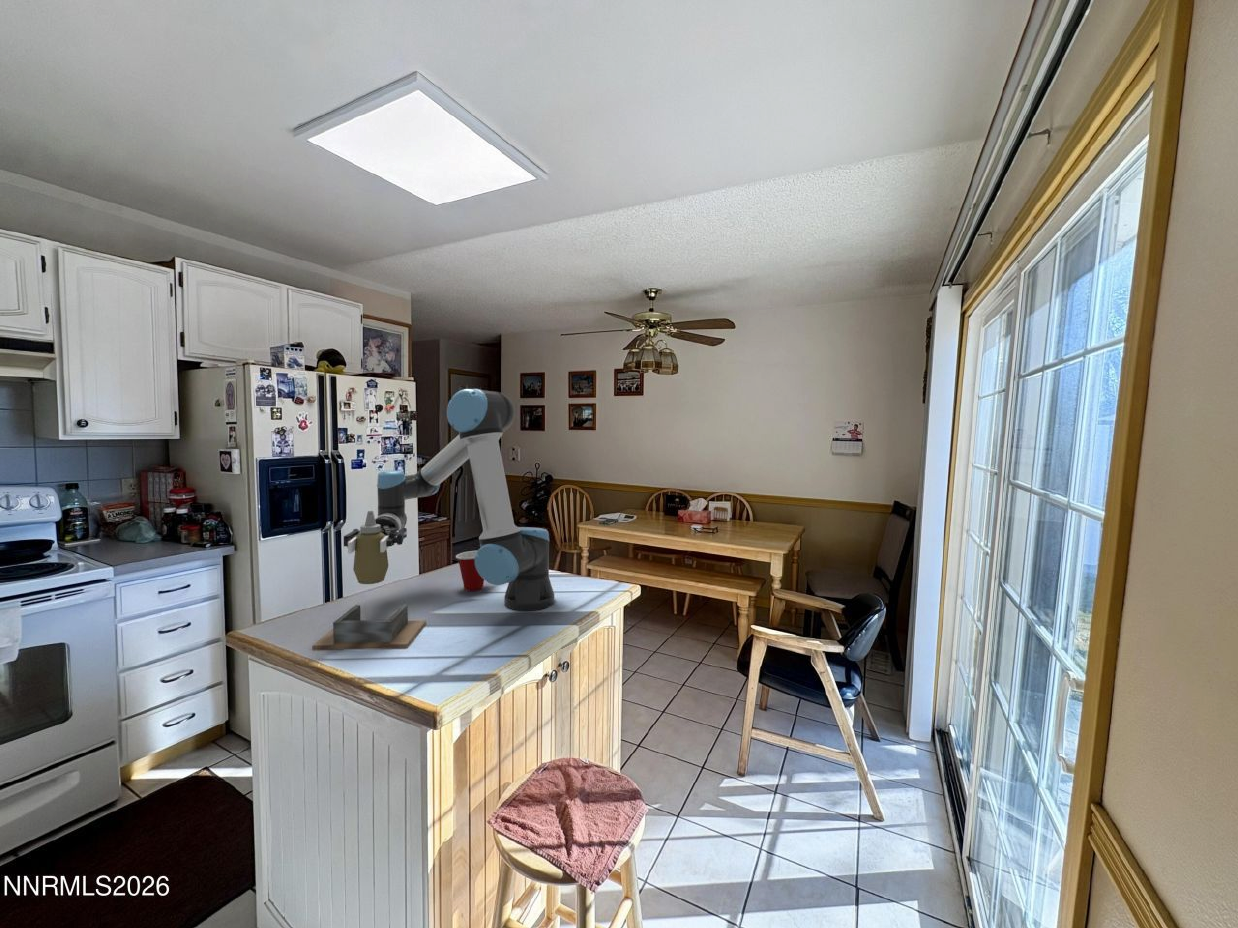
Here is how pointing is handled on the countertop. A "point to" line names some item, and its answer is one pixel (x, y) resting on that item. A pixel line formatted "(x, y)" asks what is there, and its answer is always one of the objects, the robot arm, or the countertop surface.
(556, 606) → the countertop surface
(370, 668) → the countertop surface
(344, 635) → the u rest
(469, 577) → the plastic cup
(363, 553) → the squeeze bottle
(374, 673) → the countertop surface
